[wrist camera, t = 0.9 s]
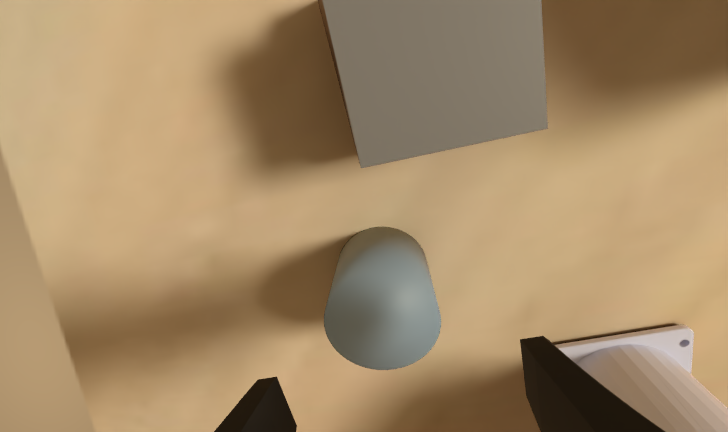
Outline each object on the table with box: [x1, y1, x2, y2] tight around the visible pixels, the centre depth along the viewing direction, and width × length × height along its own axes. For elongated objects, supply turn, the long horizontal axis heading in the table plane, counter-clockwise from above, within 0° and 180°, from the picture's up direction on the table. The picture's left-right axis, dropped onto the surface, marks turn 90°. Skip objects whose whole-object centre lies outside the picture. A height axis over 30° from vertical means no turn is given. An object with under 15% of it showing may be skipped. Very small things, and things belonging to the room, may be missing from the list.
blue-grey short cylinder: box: [324, 227, 441, 370], centre depth 17 cm, size 5×5×5 cm
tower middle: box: [322, 0, 548, 168], centre depth 12 cm, size 6×6×3 cm
